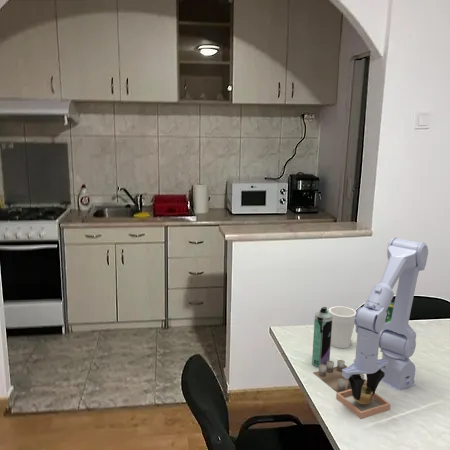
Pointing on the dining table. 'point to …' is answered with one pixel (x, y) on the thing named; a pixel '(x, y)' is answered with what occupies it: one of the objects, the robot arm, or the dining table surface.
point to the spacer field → (335, 376)
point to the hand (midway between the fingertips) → (363, 395)
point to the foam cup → (342, 326)
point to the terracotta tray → (365, 413)
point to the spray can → (322, 337)
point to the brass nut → (365, 395)
